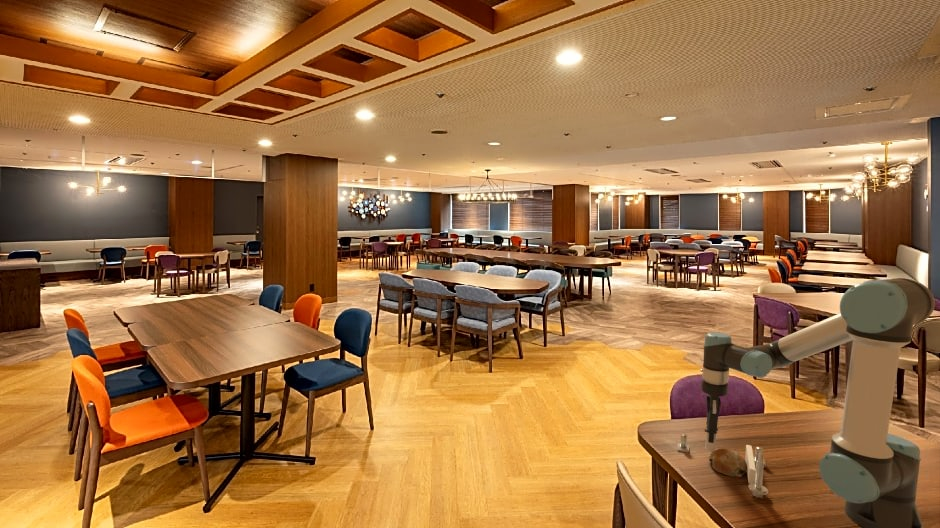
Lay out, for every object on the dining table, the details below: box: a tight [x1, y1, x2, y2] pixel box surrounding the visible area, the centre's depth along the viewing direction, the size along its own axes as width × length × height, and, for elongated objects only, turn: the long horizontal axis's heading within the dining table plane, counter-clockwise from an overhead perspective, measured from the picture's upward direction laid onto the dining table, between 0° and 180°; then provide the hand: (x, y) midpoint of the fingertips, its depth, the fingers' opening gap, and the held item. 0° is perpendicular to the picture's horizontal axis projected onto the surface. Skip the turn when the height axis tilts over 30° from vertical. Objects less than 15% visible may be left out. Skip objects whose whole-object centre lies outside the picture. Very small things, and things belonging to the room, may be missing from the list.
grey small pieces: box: [677, 433, 767, 468], centre depth 156 cm, size 4×26×5 cm, turn 66°
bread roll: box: [708, 448, 747, 478], centre depth 147 cm, size 10×10×8 cm
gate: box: [744, 444, 756, 485], centre depth 144 cm, size 2×17×5 cm, turn 152°
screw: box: [747, 452, 769, 499], centre depth 133 cm, size 13×5×5 cm
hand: (709, 450), depth 153 cm, fingers closed
